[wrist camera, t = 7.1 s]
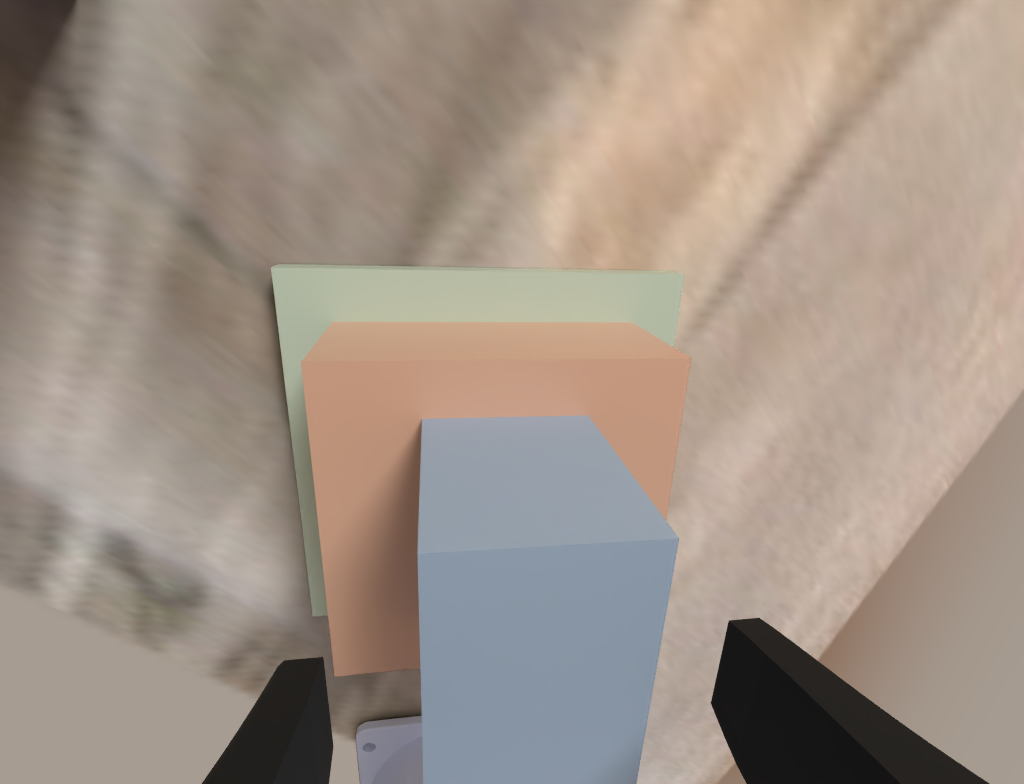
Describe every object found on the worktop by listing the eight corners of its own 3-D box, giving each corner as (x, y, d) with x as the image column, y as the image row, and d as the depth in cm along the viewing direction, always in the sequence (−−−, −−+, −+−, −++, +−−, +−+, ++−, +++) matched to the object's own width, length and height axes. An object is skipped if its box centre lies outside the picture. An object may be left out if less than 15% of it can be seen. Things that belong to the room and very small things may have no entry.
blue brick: (569, 611, 15) (633, 799, 10) (426, 622, 14) (424, 828, 10) (588, 415, 13) (678, 538, 8) (422, 419, 12) (417, 554, 8)
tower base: (631, 577, 21) (685, 679, 16) (317, 600, 19) (283, 722, 15) (672, 270, 17) (760, 296, 12) (278, 264, 15) (215, 291, 11)
